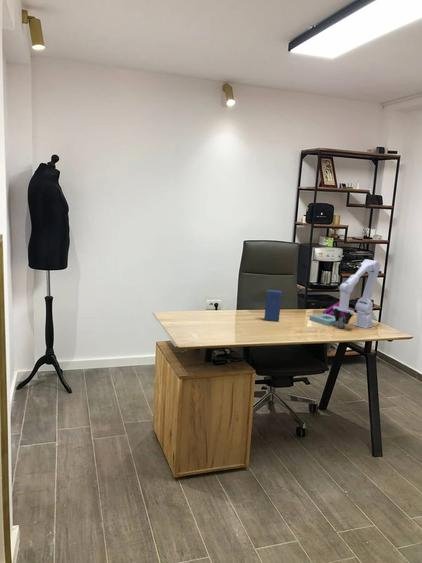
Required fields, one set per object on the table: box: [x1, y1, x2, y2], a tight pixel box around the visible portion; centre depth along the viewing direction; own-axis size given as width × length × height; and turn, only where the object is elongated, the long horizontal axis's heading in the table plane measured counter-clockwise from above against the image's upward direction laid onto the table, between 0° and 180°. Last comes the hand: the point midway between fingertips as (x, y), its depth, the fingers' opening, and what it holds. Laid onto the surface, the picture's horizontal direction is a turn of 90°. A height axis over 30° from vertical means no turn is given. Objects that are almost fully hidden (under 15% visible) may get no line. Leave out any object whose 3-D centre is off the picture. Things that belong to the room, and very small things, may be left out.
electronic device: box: [263, 289, 283, 322], centre depth 303 cm, size 10×5×20 cm, turn 84°
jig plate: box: [309, 313, 338, 327], centre depth 311 cm, size 16×16×3 cm
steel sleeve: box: [337, 316, 346, 330], centre depth 297 cm, size 4×4×7 cm
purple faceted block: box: [322, 301, 350, 317], centre depth 329 cm, size 10×8×18 cm
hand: (341, 322), depth 296 cm, fingers open, 7 cm apart
